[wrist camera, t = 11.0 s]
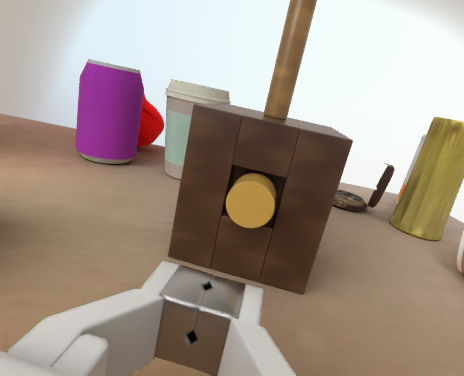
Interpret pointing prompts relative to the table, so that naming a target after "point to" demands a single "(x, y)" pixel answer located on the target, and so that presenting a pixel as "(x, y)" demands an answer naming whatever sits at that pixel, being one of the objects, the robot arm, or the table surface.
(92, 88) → the beverage can
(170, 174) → the coffee cup
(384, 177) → the compass
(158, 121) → the flower
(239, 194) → the switch
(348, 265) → the table surface
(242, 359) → the robot arm
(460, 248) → the coffee cup
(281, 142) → the lamp
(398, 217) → the vase
